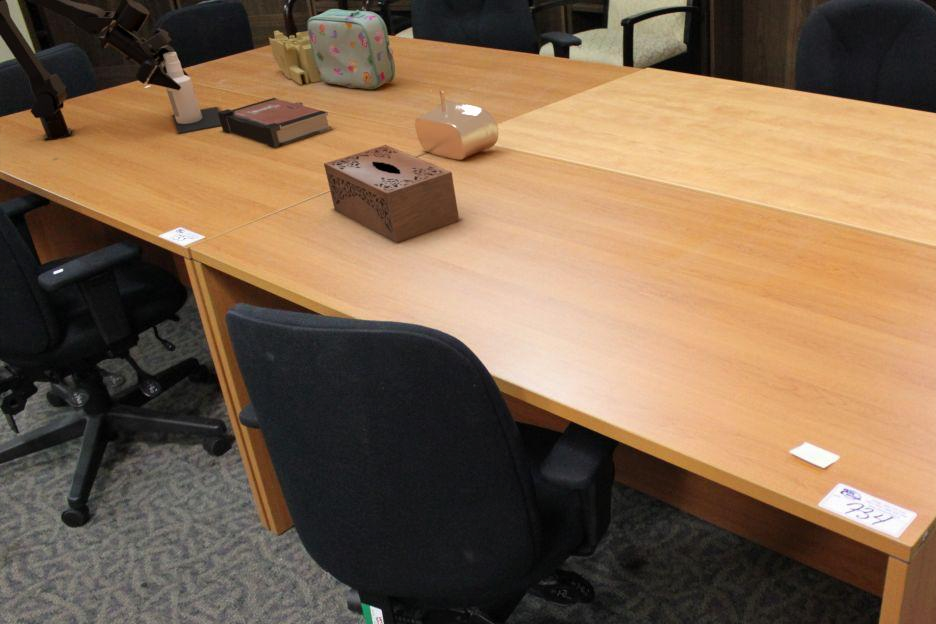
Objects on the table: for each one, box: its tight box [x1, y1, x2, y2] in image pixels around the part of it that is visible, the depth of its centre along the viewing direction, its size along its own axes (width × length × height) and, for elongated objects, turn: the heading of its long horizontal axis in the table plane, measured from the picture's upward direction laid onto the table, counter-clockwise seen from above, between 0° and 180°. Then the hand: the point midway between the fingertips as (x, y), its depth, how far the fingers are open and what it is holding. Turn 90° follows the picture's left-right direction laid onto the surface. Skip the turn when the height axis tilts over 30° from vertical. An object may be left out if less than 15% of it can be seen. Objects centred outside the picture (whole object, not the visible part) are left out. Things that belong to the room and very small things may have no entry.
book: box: [218, 97, 332, 149], centre depth 253 cm, size 26×18×5 cm
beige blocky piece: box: [268, 30, 324, 86], centre depth 301 cm, size 24×16×20 cm
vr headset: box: [414, 90, 500, 161], centre depth 226 cm, size 18×11×14 cm, turn 49°
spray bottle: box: [163, 51, 202, 124], centre depth 262 cm, size 7×7×18 cm
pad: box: [172, 106, 222, 135], centre depth 268 cm, size 20×12×1 cm, turn 24°
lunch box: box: [307, 8, 396, 90], centre depth 282 cm, size 27×10×21 cm, turn 58°
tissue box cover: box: [323, 144, 460, 244], centre depth 196 cm, size 26×14×10 cm, turn 40°
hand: (185, 84), depth 262 cm, fingers open, 9 cm apart
